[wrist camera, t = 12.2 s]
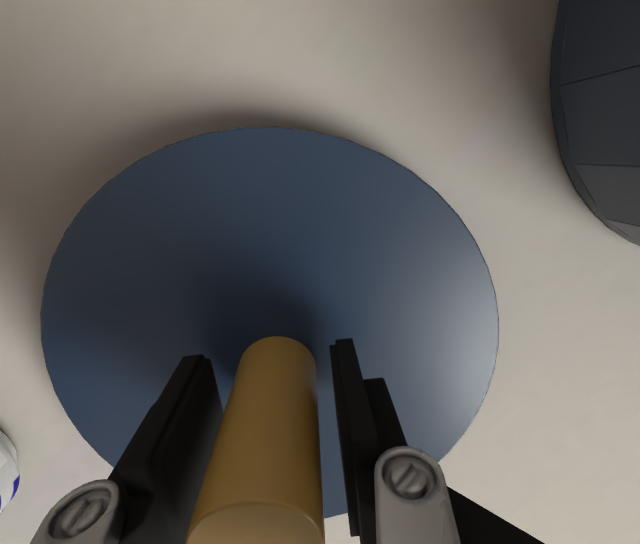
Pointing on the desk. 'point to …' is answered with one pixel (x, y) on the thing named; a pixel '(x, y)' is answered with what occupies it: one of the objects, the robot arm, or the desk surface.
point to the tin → (600, 106)
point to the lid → (269, 313)
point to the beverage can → (7, 471)
